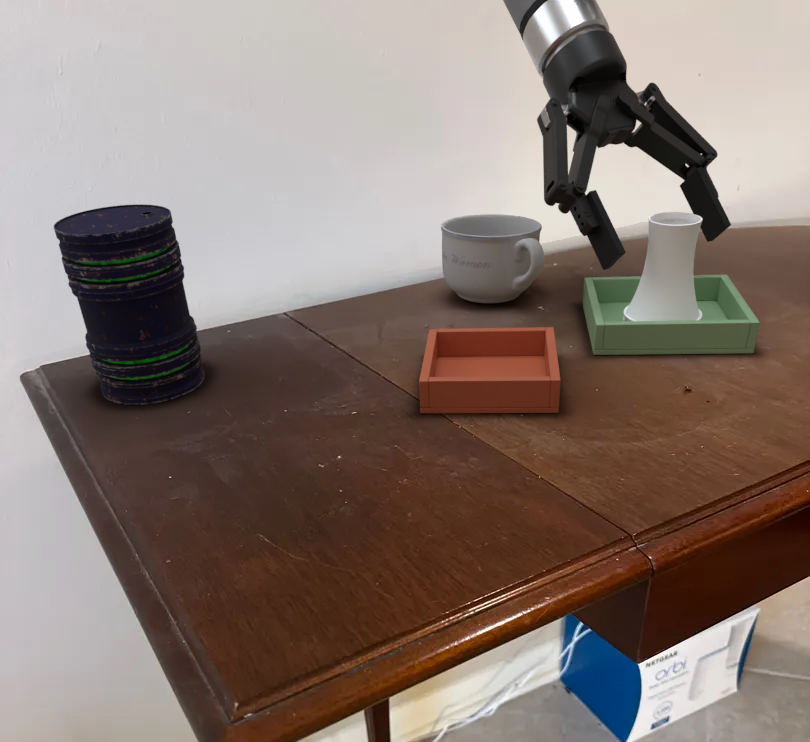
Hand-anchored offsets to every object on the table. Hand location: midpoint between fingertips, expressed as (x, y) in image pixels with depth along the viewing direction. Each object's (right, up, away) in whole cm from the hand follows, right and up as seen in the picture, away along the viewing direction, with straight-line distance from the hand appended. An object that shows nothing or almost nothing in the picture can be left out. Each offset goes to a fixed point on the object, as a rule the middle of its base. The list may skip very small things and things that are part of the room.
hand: (668, 247), depth 78 cm
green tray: (+1, -6, +4) cm, 8 cm away
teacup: (-15, -1, +13) cm, 20 cm away
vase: (+1, -6, +4) cm, 7 cm away
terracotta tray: (-18, -14, -4) cm, 23 cm away
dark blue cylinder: (-49, -13, 0) cm, 51 cm away
